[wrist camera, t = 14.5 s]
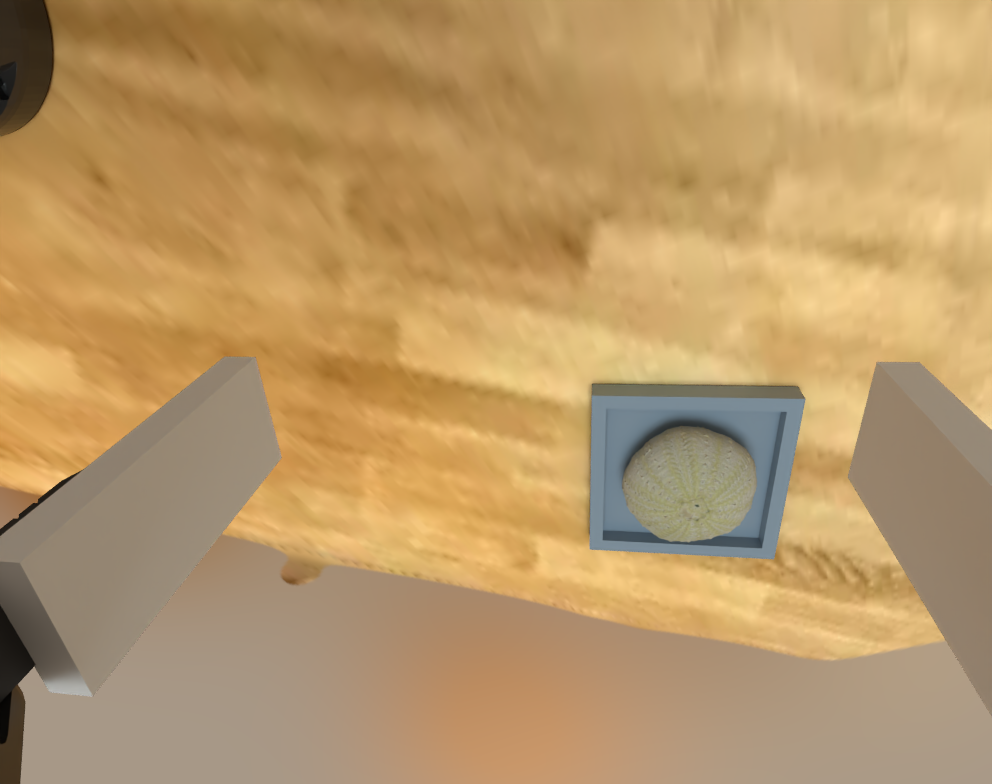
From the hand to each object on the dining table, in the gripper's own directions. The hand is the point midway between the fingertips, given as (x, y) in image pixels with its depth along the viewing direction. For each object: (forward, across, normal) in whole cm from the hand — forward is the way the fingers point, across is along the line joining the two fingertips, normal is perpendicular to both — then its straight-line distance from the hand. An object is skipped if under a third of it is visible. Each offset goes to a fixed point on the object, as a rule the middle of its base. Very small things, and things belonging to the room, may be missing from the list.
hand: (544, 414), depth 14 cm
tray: (+29, +8, -21) cm, 36 cm away
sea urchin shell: (+28, +8, -21) cm, 36 cm away
